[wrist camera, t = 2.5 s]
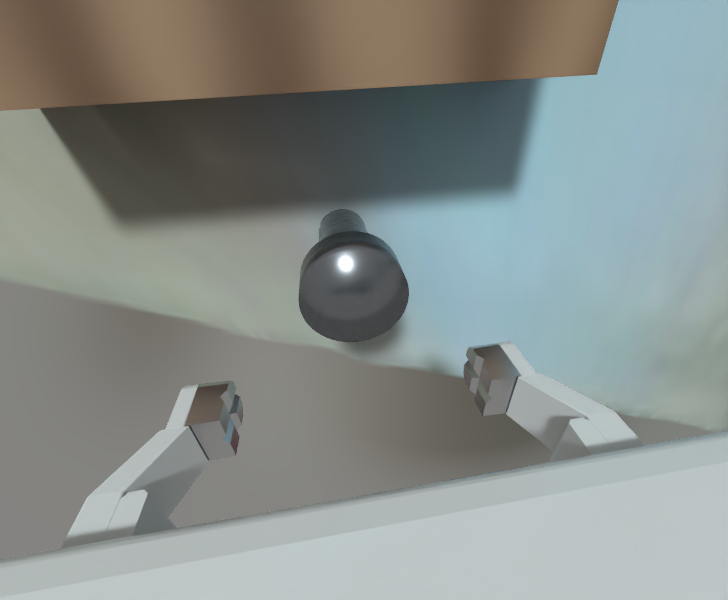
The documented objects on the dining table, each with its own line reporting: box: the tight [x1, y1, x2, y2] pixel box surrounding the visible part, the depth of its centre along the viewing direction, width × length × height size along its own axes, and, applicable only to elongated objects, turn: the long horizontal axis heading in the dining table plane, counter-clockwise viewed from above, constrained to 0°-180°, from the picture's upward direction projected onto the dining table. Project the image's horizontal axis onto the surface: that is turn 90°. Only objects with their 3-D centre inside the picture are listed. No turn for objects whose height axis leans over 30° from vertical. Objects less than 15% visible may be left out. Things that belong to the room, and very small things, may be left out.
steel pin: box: [299, 209, 409, 342], centre depth 18 cm, size 5×5×8 cm
